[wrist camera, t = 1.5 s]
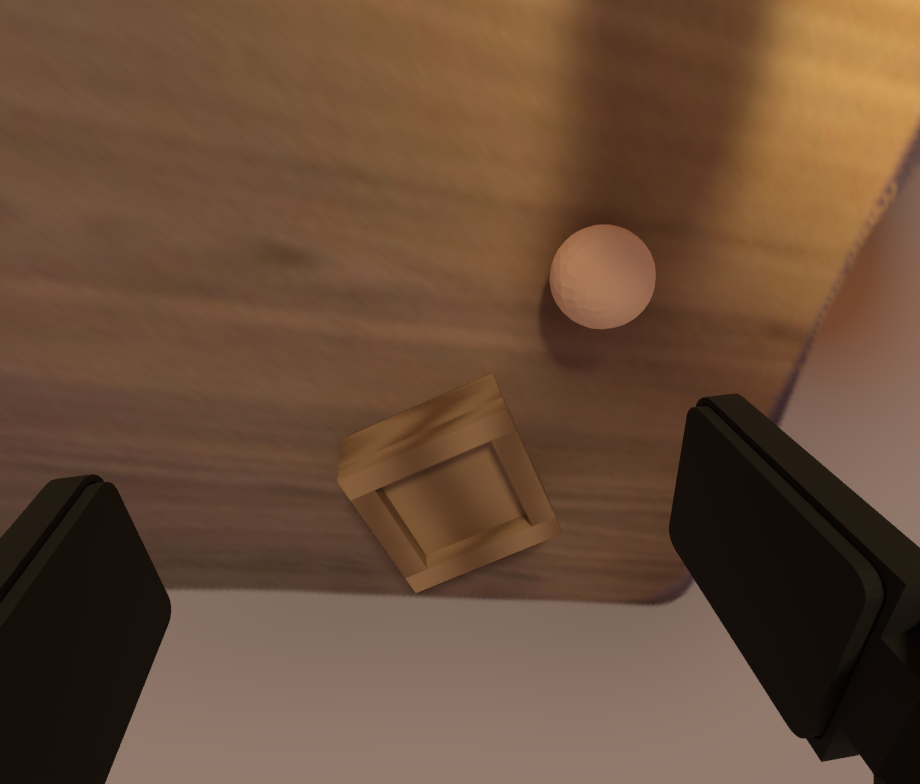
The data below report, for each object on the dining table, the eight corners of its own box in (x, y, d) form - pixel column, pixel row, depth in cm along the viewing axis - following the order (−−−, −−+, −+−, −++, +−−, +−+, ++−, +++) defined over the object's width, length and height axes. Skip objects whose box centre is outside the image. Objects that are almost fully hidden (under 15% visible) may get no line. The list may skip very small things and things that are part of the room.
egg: (587, 193, 28) (633, 216, 23) (646, 256, 30) (701, 290, 25) (519, 268, 30) (548, 305, 24) (579, 324, 32) (618, 368, 27)
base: (492, 372, 32) (506, 408, 29) (545, 490, 37) (563, 533, 34) (341, 438, 33) (336, 481, 30) (412, 545, 38) (415, 593, 34)
